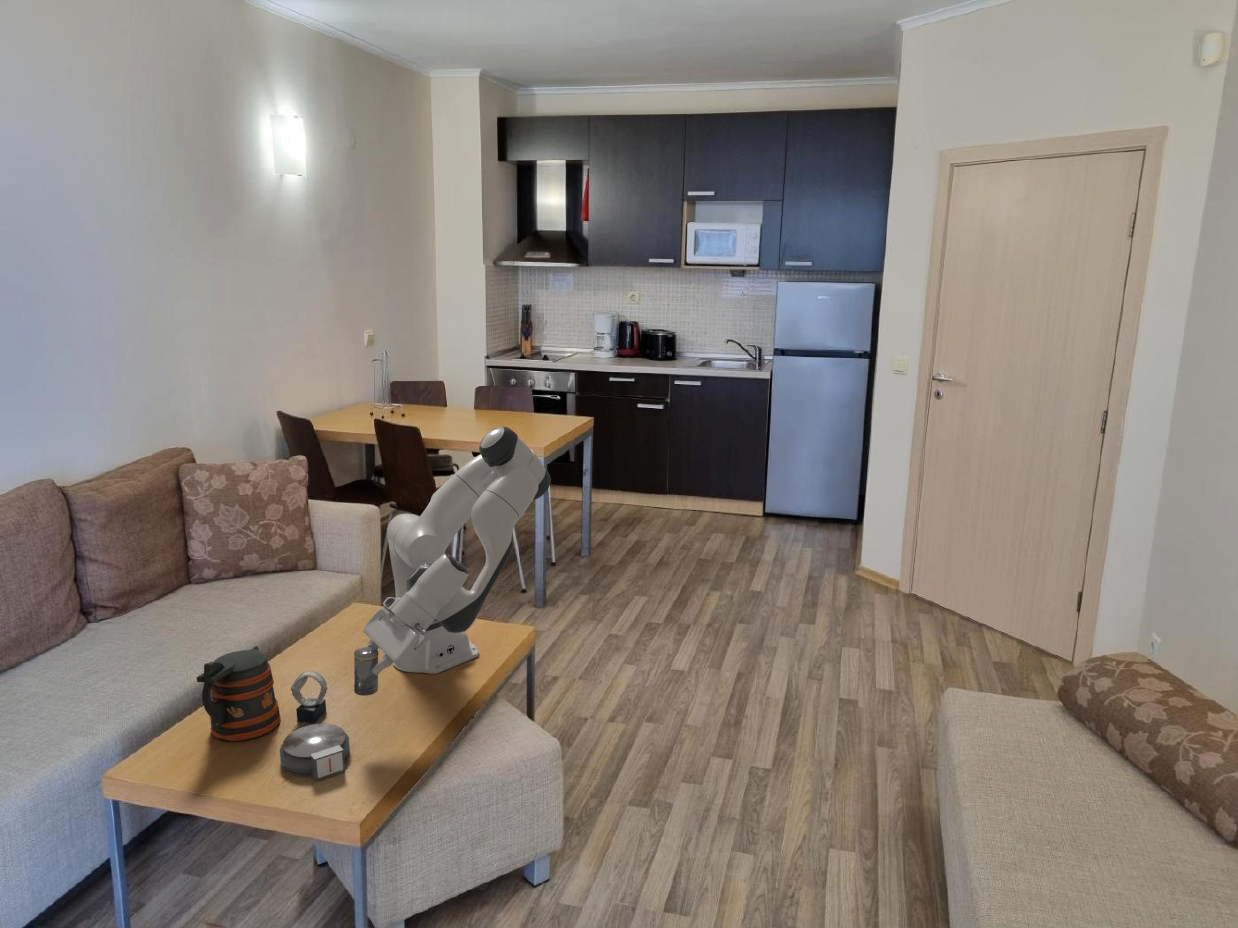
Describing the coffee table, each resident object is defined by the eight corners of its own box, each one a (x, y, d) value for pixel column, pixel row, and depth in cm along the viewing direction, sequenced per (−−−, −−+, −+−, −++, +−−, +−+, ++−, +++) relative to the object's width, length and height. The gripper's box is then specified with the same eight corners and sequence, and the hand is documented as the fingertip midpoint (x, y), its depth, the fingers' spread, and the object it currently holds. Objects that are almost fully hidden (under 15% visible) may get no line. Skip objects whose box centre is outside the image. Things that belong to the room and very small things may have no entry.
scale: (336, 733, 197) (335, 713, 196) (364, 765, 185) (362, 744, 183) (272, 753, 189) (270, 732, 188) (296, 788, 176) (294, 766, 175)
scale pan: (333, 721, 196) (333, 717, 195) (354, 745, 186) (354, 741, 186) (275, 738, 188) (275, 735, 188) (294, 764, 178) (293, 761, 178)
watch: (301, 709, 208) (298, 666, 206) (333, 712, 207) (330, 669, 204) (289, 720, 203) (285, 677, 200) (321, 723, 201) (317, 679, 199)
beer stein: (245, 756, 188) (236, 670, 183) (184, 749, 190) (174, 665, 186) (292, 713, 206) (286, 634, 202) (236, 707, 209) (228, 629, 204)
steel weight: (373, 683, 196) (373, 645, 194) (381, 692, 192) (381, 654, 190) (350, 688, 193) (350, 649, 191) (358, 697, 189) (358, 658, 187)
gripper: (439, 641, 189) (395, 693, 185) (402, 609, 205) (361, 657, 201) (420, 625, 185) (375, 678, 182) (384, 594, 201) (342, 642, 198)
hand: (367, 666), depth 191 cm, fingers closed on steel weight, 5 cm apart
